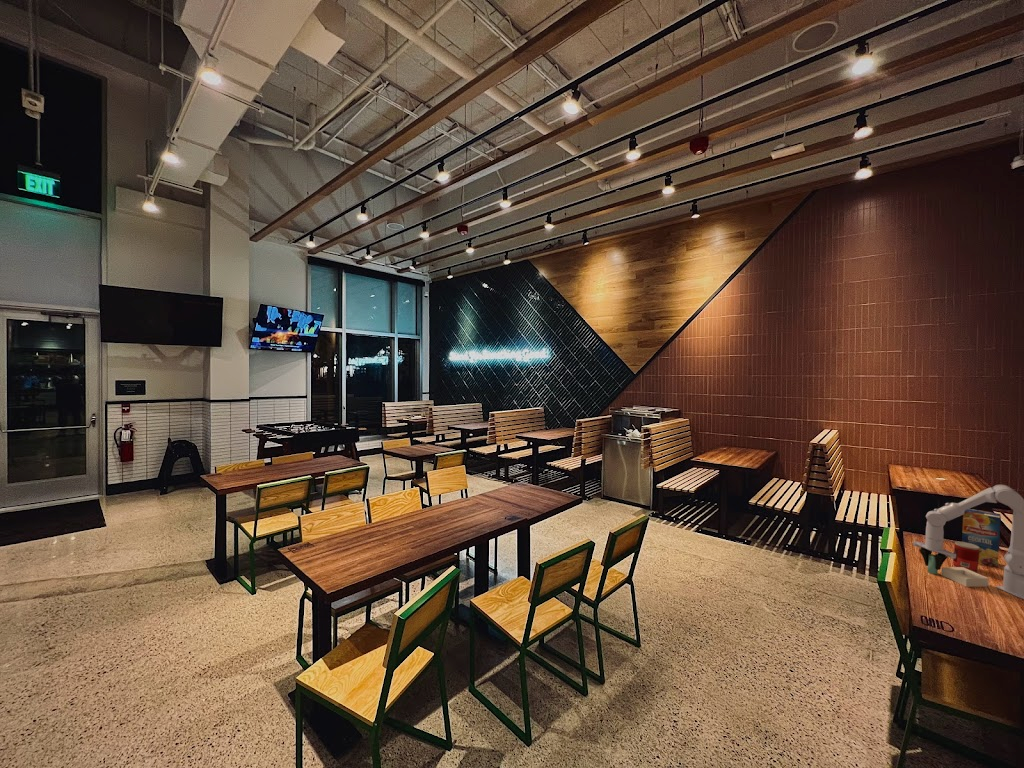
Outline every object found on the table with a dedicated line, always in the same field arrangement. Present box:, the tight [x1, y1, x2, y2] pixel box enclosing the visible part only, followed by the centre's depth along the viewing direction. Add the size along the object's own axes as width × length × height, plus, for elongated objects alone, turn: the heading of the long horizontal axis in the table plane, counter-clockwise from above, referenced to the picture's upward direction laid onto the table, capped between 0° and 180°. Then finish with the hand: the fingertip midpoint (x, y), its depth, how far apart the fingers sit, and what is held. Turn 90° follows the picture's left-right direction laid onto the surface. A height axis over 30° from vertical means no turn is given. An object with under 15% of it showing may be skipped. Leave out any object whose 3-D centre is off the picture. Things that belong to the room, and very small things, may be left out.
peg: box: [927, 553, 939, 576], centre depth 192 cm, size 3×3×8 cm
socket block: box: [940, 566, 990, 588], centre depth 186 cm, size 10×10×4 cm
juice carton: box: [961, 508, 1002, 569], centre depth 203 cm, size 12×8×24 cm, turn 42°
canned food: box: [952, 540, 980, 572], centre depth 197 cm, size 8×8×11 cm
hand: (932, 567), depth 192 cm, fingers closed on peg, 3 cm apart
